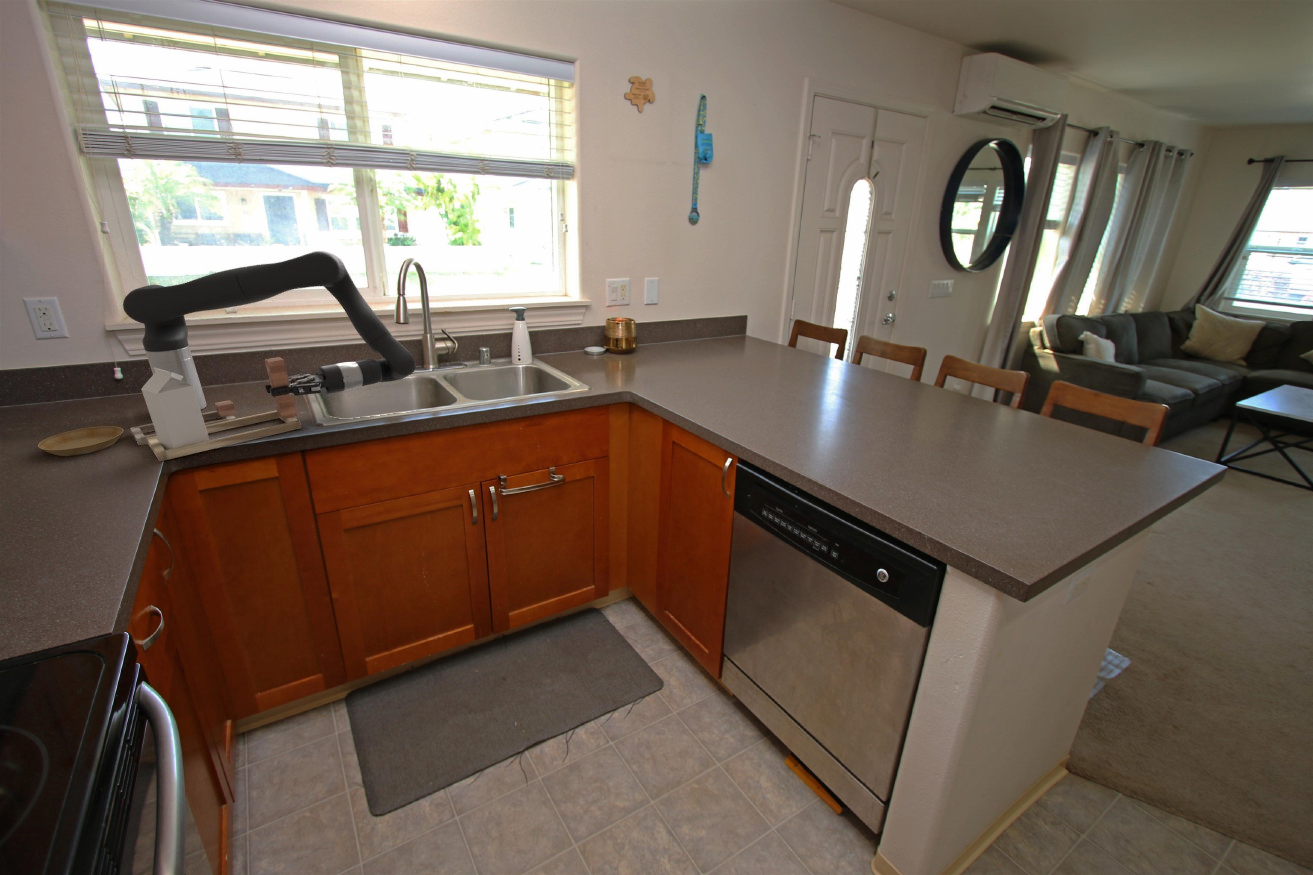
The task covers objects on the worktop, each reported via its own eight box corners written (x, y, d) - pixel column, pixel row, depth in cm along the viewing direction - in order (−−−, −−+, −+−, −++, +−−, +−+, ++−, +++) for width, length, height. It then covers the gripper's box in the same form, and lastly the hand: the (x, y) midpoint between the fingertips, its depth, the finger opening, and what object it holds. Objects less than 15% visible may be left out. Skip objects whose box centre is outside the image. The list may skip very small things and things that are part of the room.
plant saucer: (119, 431, 147) (115, 421, 146) (133, 446, 138) (130, 435, 137) (37, 448, 136) (33, 438, 135) (47, 466, 128) (43, 455, 127)
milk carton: (177, 456, 132) (150, 376, 125) (161, 450, 135) (134, 371, 128) (211, 446, 138) (188, 368, 131) (196, 440, 141) (172, 364, 134)
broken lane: (132, 434, 144) (125, 416, 142) (231, 414, 158) (226, 397, 156) (139, 445, 138) (132, 426, 136) (241, 423, 152) (236, 406, 150)
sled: (148, 444, 138) (124, 376, 131) (288, 414, 158) (273, 353, 151) (159, 461, 129) (134, 388, 123) (305, 427, 149) (290, 363, 143)
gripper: (327, 359, 162) (256, 371, 150) (347, 369, 153) (273, 382, 141) (333, 385, 164) (263, 398, 153) (353, 396, 155) (280, 411, 144)
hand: (268, 390), depth 147 cm, fingers closed on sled, 3 cm apart
